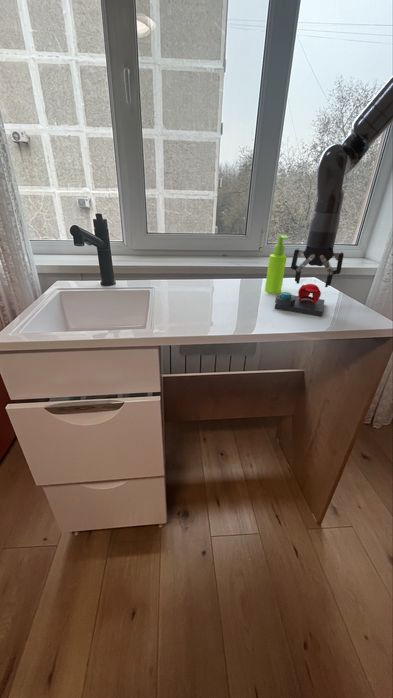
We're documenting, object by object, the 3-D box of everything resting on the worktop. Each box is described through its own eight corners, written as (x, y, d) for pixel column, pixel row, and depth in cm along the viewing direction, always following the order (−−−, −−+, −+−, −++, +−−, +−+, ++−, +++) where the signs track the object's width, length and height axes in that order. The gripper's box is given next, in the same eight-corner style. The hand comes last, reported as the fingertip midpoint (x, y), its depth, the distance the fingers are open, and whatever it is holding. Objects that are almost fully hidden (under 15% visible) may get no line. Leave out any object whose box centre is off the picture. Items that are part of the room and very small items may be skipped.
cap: (293, 297, 96) (297, 280, 93) (311, 298, 96) (315, 280, 93) (302, 306, 89) (306, 287, 86) (321, 306, 89) (325, 287, 86)
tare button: (291, 298, 91) (292, 292, 91) (289, 300, 89) (290, 295, 88) (281, 296, 92) (282, 291, 92) (279, 299, 90) (280, 294, 89)
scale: (323, 304, 96) (326, 294, 94) (321, 317, 86) (323, 306, 84) (279, 298, 101) (281, 288, 99) (272, 309, 91) (274, 298, 89)
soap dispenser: (268, 294, 104) (276, 236, 94) (262, 289, 110) (270, 233, 100) (283, 294, 104) (294, 236, 94) (277, 289, 110) (286, 233, 100)
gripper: (296, 229, 82) (286, 285, 90) (350, 232, 77) (335, 291, 85) (299, 227, 88) (290, 279, 96) (350, 229, 83) (336, 284, 91)
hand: (311, 284), depth 90 cm, fingers open, 8 cm apart
